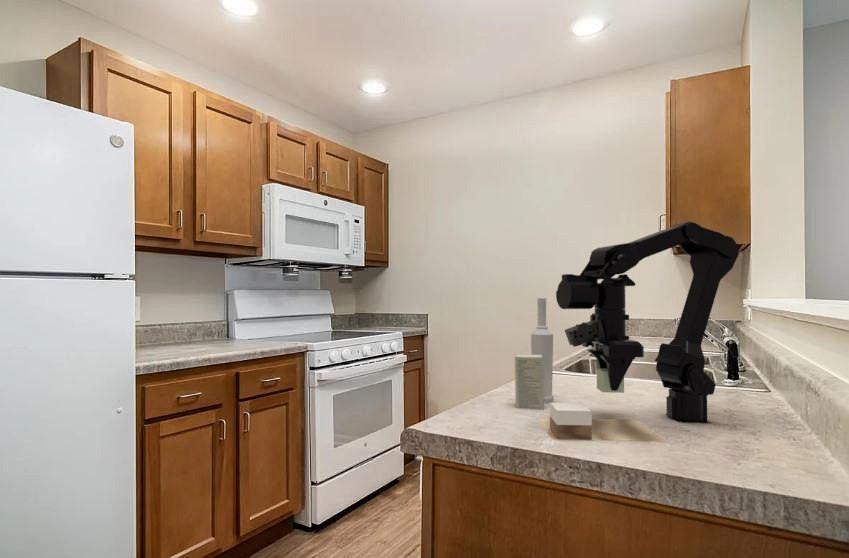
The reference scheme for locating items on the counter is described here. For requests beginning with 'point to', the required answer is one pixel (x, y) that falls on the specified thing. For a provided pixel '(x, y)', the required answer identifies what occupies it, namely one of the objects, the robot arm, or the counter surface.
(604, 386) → the green cube
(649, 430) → the cutting board
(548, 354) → the bottle
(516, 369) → the skincare box
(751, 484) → the counter surface
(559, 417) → the tower mid
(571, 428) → the tower base
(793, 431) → the counter surface
